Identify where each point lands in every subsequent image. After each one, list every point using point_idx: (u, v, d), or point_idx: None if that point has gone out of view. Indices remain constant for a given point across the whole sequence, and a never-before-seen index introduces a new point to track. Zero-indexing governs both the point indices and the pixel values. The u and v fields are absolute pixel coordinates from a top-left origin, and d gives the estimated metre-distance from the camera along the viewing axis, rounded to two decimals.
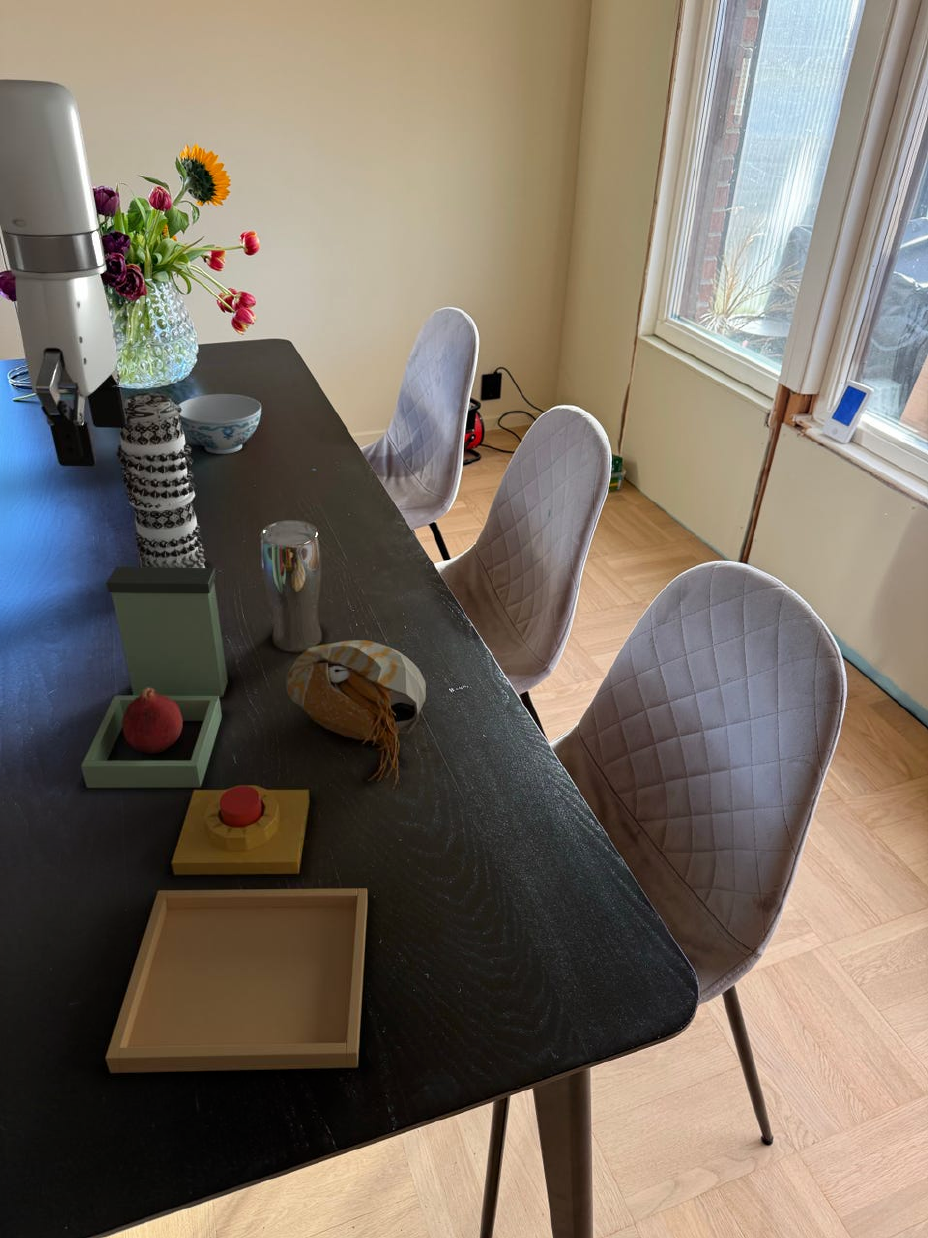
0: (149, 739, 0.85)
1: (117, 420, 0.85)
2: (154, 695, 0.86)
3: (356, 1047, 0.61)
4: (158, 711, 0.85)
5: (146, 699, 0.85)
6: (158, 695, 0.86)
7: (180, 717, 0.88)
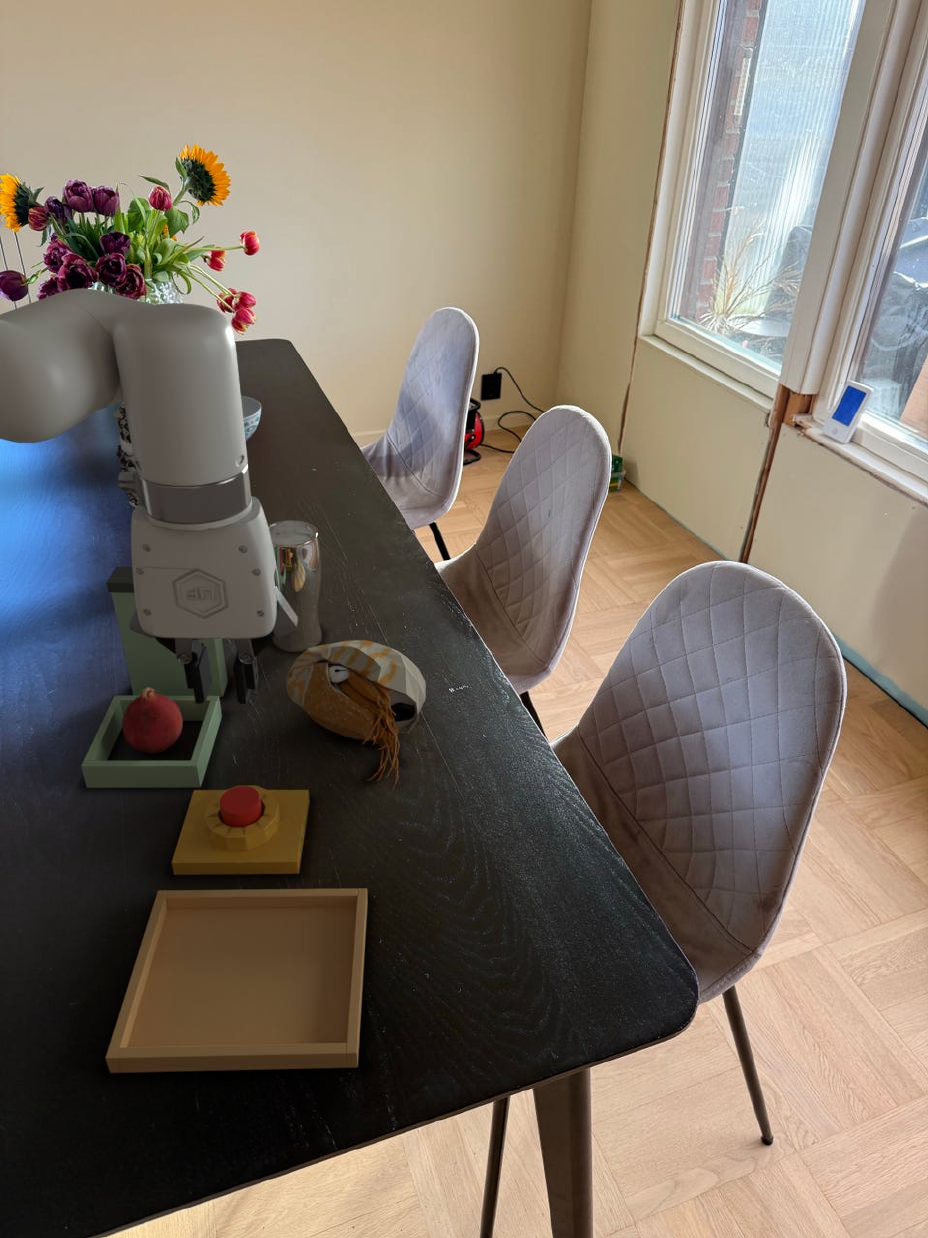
0: (149, 739, 0.85)
1: (209, 679, 0.71)
2: (154, 695, 0.86)
3: (356, 1047, 0.61)
4: (158, 711, 0.85)
5: (146, 699, 0.85)
6: (158, 695, 0.86)
7: (180, 717, 0.88)
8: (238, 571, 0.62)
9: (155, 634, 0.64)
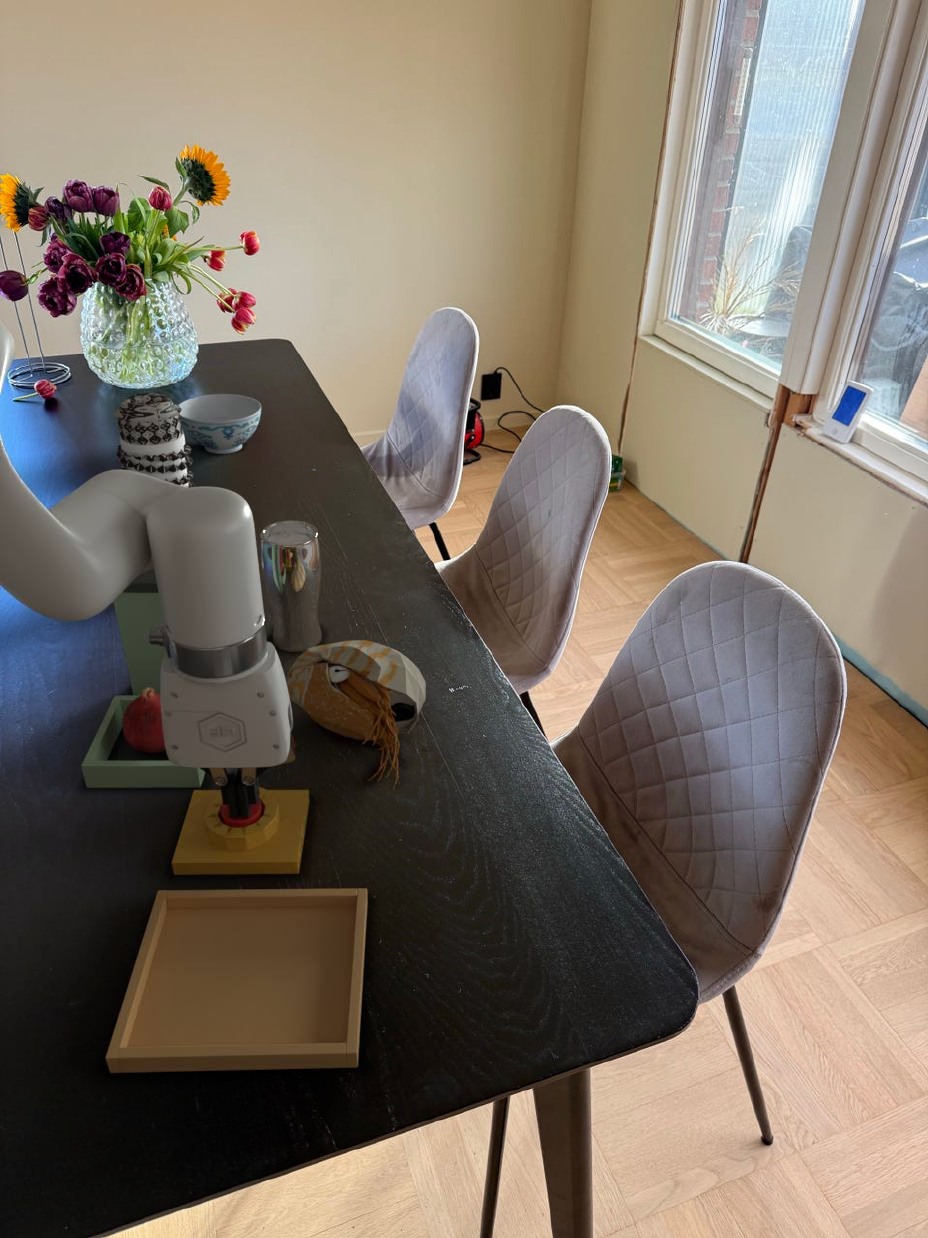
0: (149, 739, 0.85)
1: None
2: (154, 695, 0.86)
3: (356, 1047, 0.61)
4: (158, 711, 0.85)
5: (146, 699, 0.85)
6: (158, 695, 0.86)
7: None
8: (256, 713, 0.69)
9: (181, 765, 0.71)
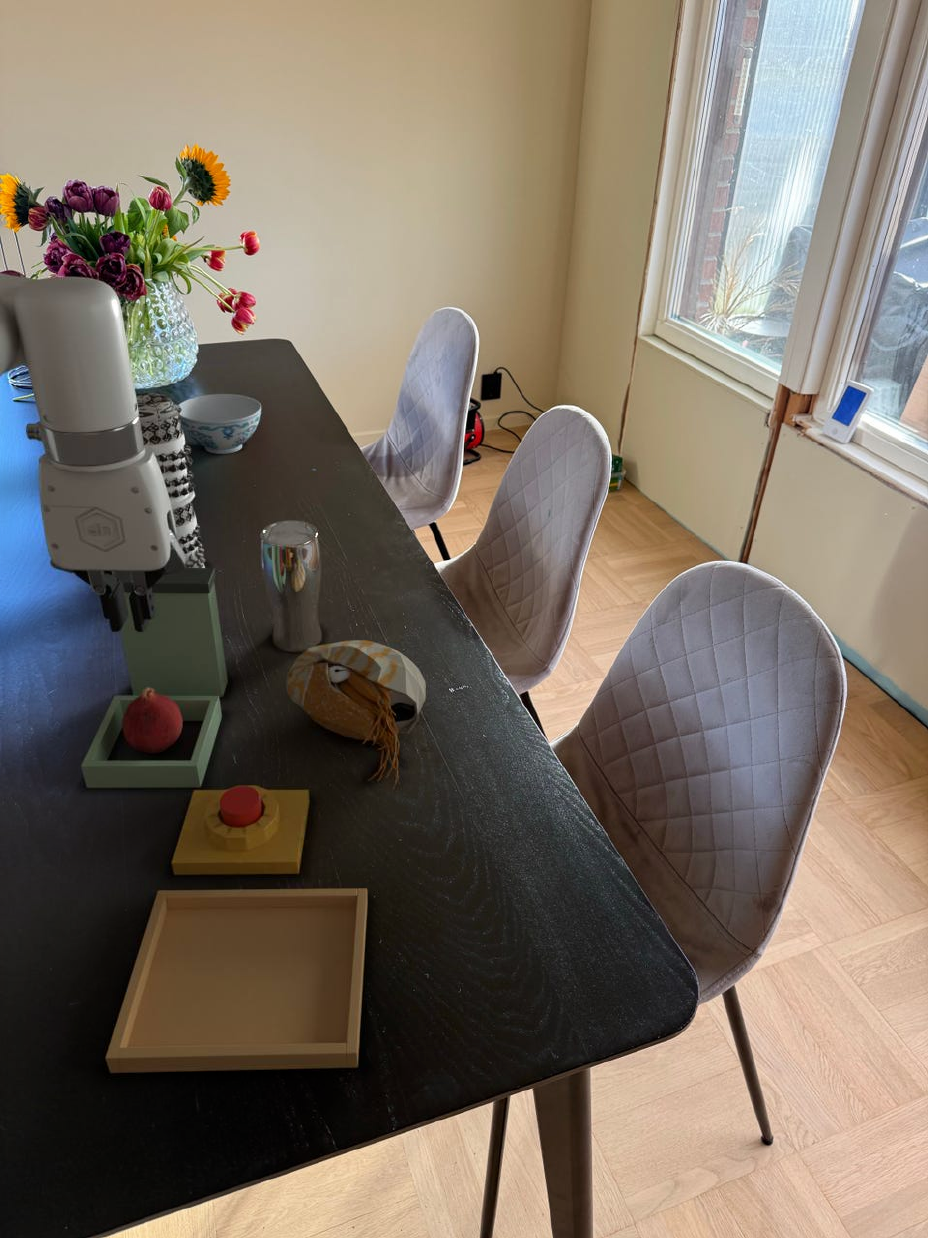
0: (149, 739, 0.85)
1: (125, 611, 0.81)
2: (154, 695, 0.86)
3: (356, 1047, 0.61)
4: (158, 711, 0.85)
5: (146, 699, 0.85)
6: (158, 695, 0.86)
7: (180, 717, 0.88)
8: (132, 509, 0.71)
9: (63, 566, 0.74)
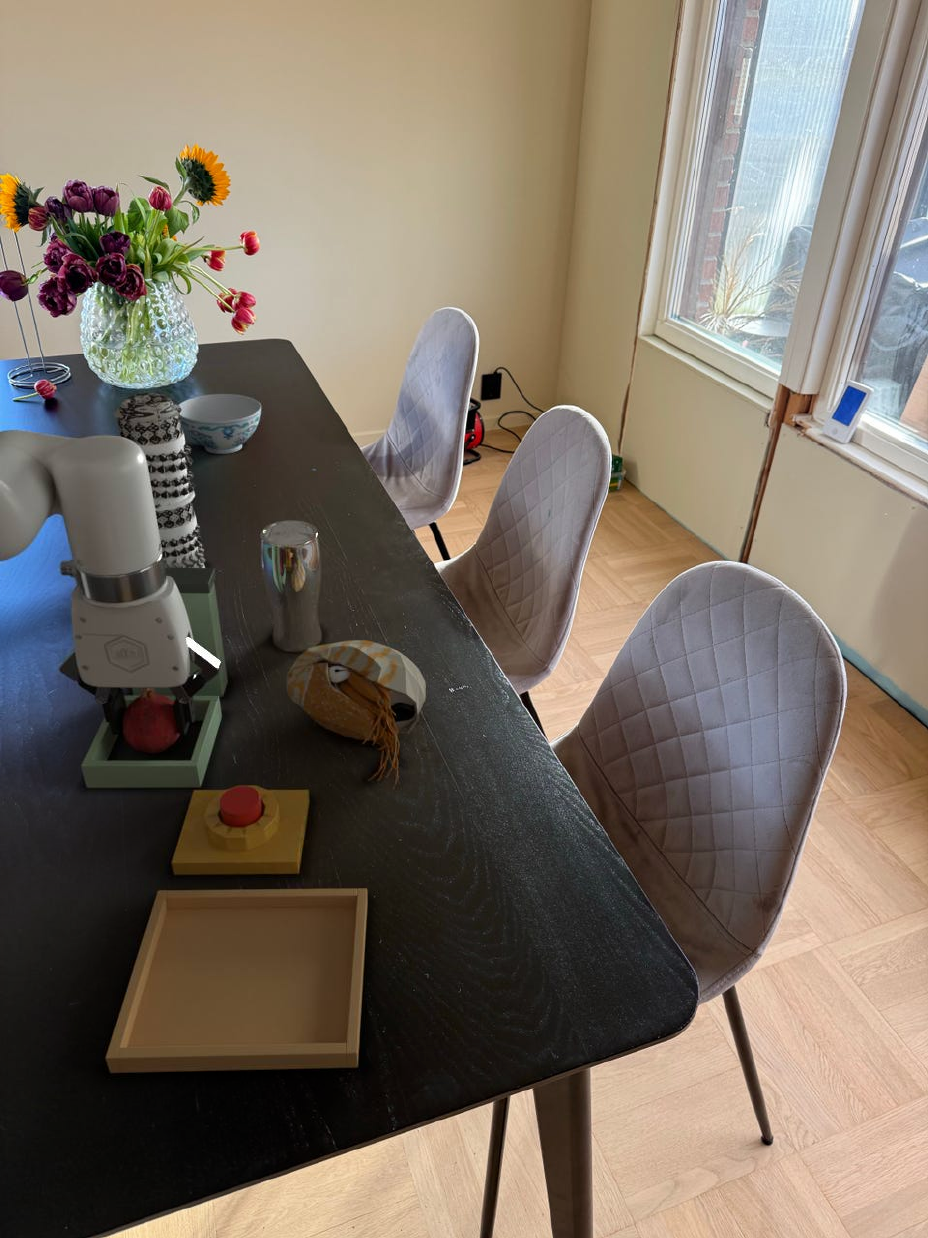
0: (149, 739, 0.85)
1: None
2: (154, 695, 0.86)
3: (356, 1047, 0.61)
4: (158, 711, 0.85)
5: (146, 699, 0.85)
6: (158, 695, 0.86)
7: None
8: (155, 637, 0.79)
9: (92, 684, 0.81)
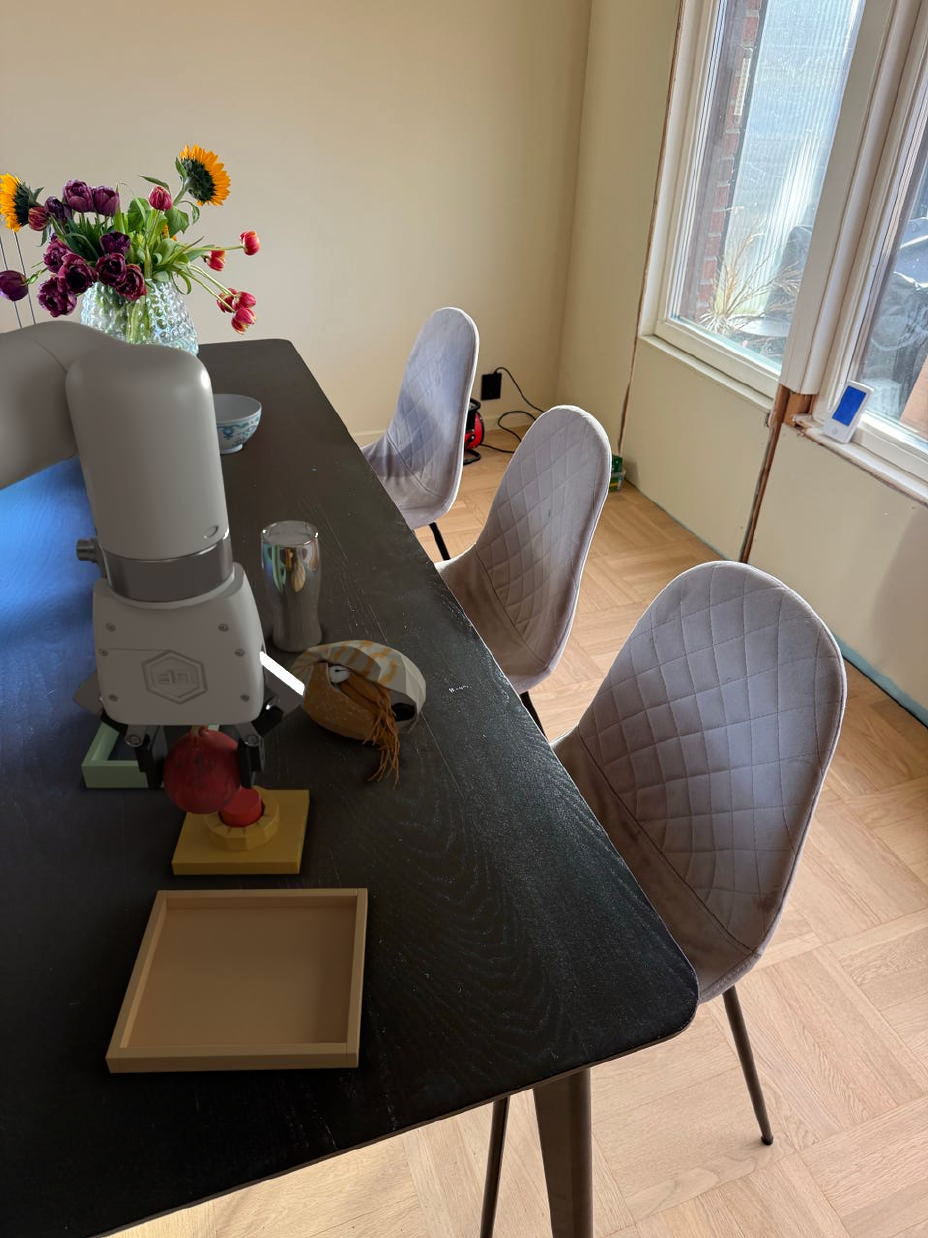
0: (202, 796, 0.59)
1: None
2: (208, 733, 0.60)
3: (356, 1047, 0.61)
4: (215, 756, 0.59)
5: (197, 739, 0.59)
6: (213, 732, 0.61)
7: None
8: (218, 652, 0.53)
9: (123, 721, 0.55)
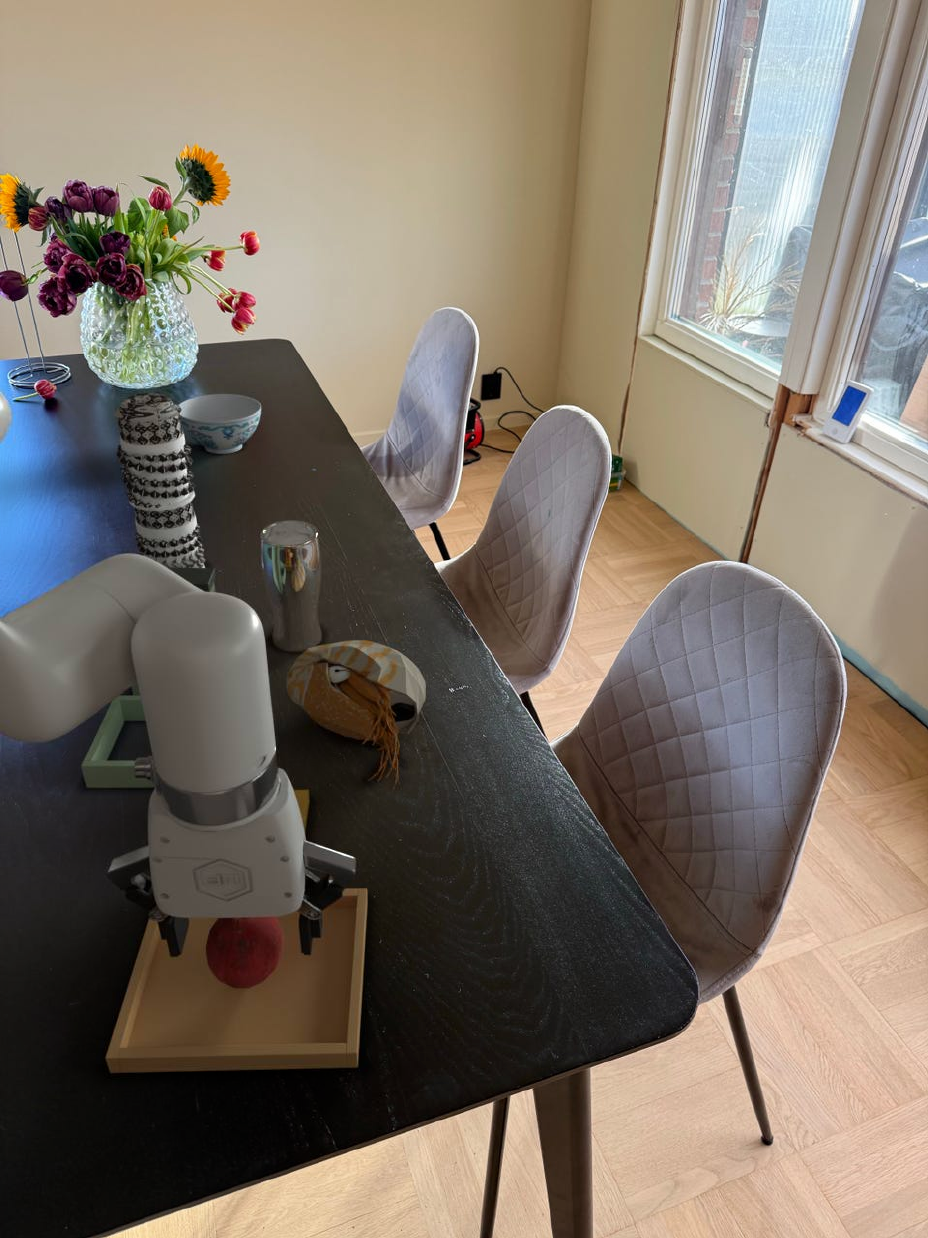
0: (244, 976, 0.63)
1: (186, 923, 0.65)
2: None
3: (356, 1047, 0.61)
4: (256, 938, 0.63)
5: (240, 922, 0.63)
6: None
7: (282, 937, 0.66)
8: (265, 859, 0.56)
9: (173, 915, 0.59)
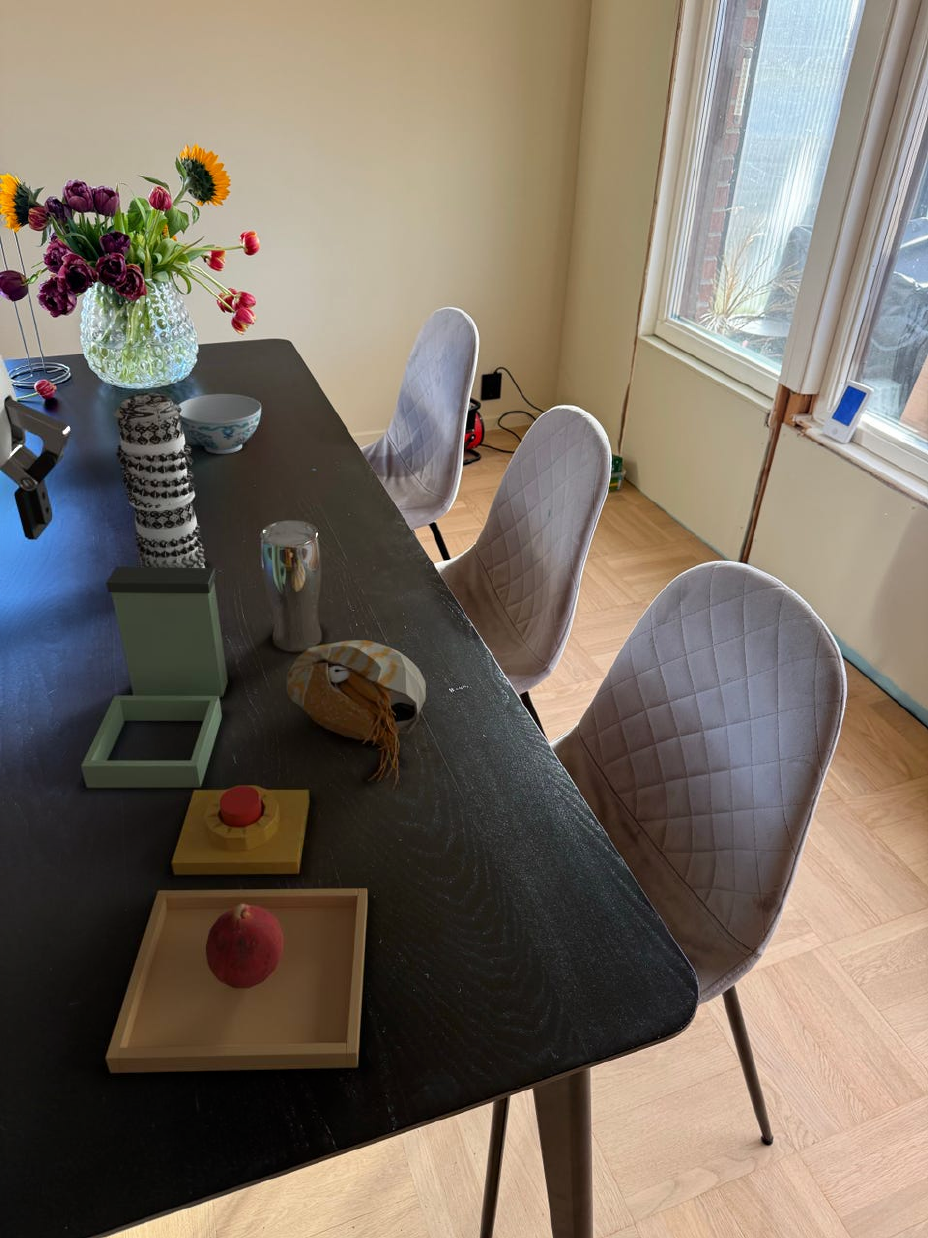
0: (244, 976, 0.63)
1: None
2: (249, 913, 0.64)
3: (356, 1047, 0.61)
4: (256, 938, 0.63)
5: (240, 922, 0.63)
6: (254, 911, 0.64)
7: (282, 937, 0.66)
8: None
9: None
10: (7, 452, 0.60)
